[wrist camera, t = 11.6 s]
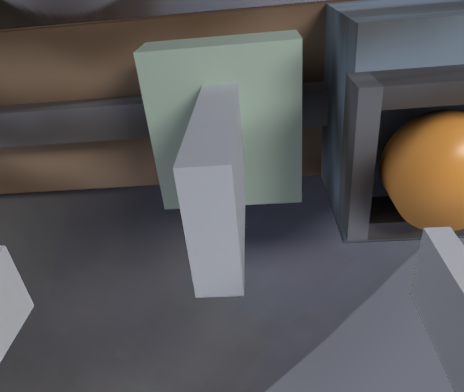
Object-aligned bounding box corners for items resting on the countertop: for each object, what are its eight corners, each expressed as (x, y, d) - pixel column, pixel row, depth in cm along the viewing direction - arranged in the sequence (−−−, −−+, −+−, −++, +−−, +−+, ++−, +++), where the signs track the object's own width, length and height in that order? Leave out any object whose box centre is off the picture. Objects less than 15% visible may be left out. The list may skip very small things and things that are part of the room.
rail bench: (-278, 54, 29) (-580, 112, 19) (440, -10, 26) (578, 16, 15) (-178, 196, 35) (-364, 300, 25) (413, 161, 32) (497, 266, 21)
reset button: (385, 113, 18) (401, 132, 16) (503, 104, 17) (534, 123, 16) (374, 208, 20) (387, 235, 18) (478, 203, 20) (501, 229, 18)
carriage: (152, 36, 26) (54, 119, 13) (293, 24, 25) (340, 98, 12) (176, 174, 31) (123, 333, 18) (294, 167, 30) (328, 326, 17)
